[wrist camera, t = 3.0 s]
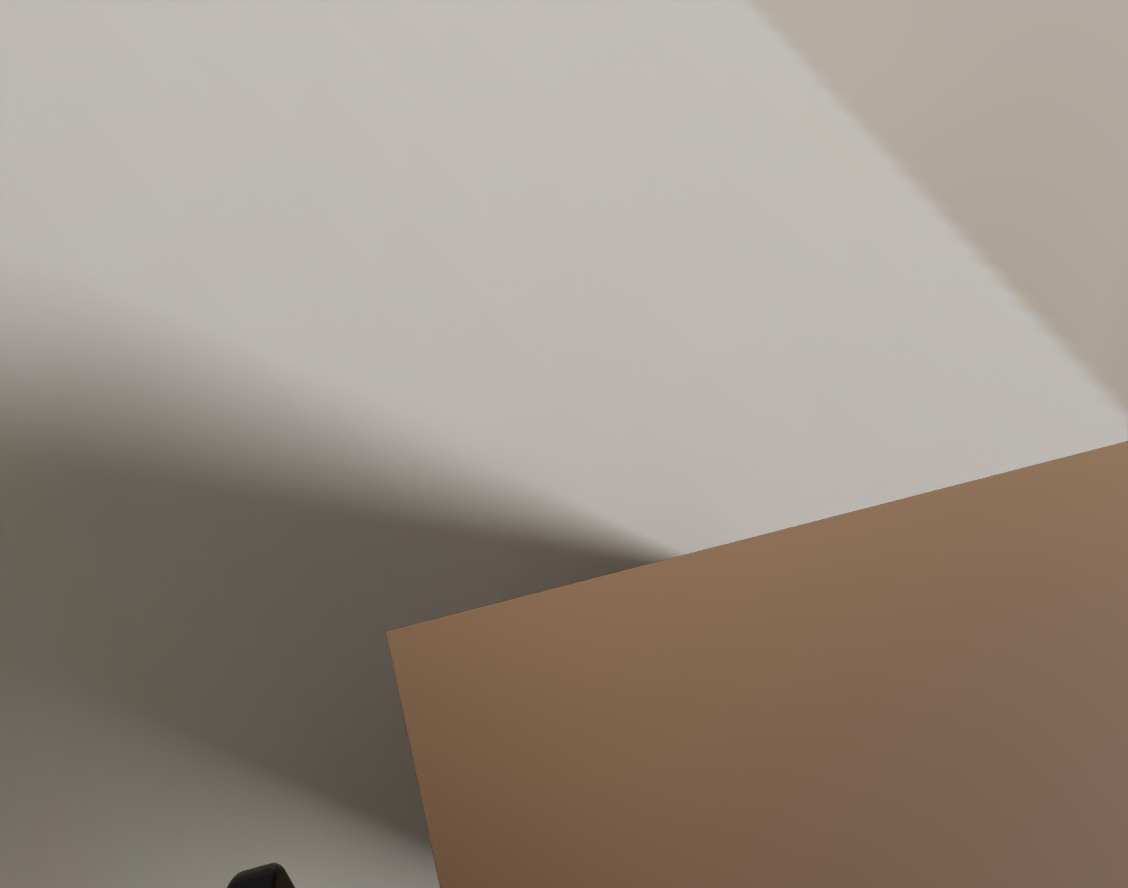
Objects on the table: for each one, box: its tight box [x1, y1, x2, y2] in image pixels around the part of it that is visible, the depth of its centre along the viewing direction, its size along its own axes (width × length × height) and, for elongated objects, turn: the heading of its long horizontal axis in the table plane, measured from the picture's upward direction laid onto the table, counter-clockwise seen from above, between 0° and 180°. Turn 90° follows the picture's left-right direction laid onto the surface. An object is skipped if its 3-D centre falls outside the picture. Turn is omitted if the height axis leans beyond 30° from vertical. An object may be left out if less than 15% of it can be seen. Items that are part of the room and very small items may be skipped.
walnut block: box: [386, 441, 1128, 888], centre depth 10 cm, size 4×4×13 cm
